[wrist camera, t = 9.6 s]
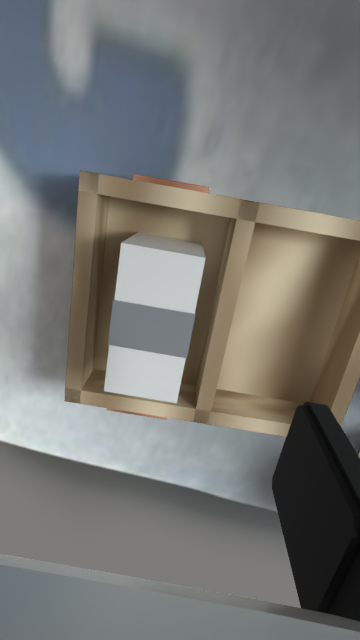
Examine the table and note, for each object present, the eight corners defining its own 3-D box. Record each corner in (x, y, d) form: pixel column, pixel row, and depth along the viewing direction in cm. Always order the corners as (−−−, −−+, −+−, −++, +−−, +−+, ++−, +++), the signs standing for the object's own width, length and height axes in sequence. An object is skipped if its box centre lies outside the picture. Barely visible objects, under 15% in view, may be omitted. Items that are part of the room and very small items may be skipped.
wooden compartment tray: (379, 220, 22) (418, 225, 18) (312, 413, 27) (332, 447, 23) (99, 170, 21) (80, 163, 18) (82, 375, 26) (64, 405, 22)
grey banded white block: (202, 243, 22) (206, 258, 16) (180, 356, 24) (177, 404, 19) (138, 231, 22) (119, 242, 16) (123, 346, 24) (102, 391, 18)
